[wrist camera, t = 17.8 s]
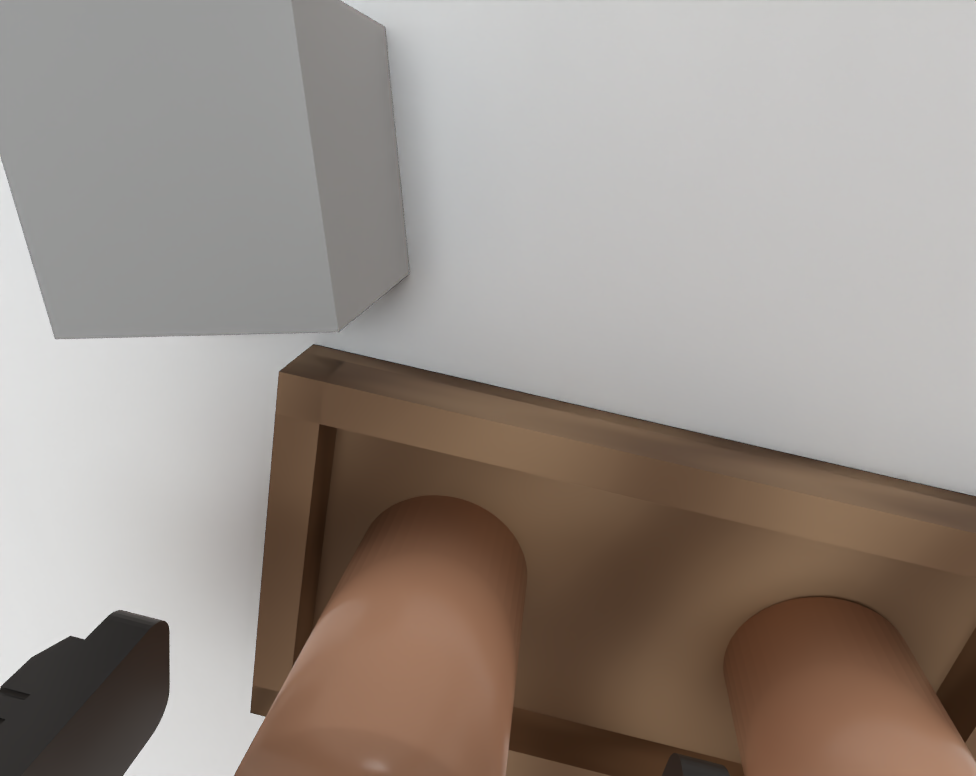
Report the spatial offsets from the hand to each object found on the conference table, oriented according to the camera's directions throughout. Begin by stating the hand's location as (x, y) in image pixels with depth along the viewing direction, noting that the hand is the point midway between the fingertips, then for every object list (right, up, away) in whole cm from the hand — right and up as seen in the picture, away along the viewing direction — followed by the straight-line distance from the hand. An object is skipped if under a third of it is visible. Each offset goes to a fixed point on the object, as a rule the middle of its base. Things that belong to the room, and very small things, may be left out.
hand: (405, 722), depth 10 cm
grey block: (-3, +10, +4) cm, 11 cm away
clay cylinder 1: (0, +1, +7) cm, 7 cm away
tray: (+5, 0, +7) cm, 9 cm away
